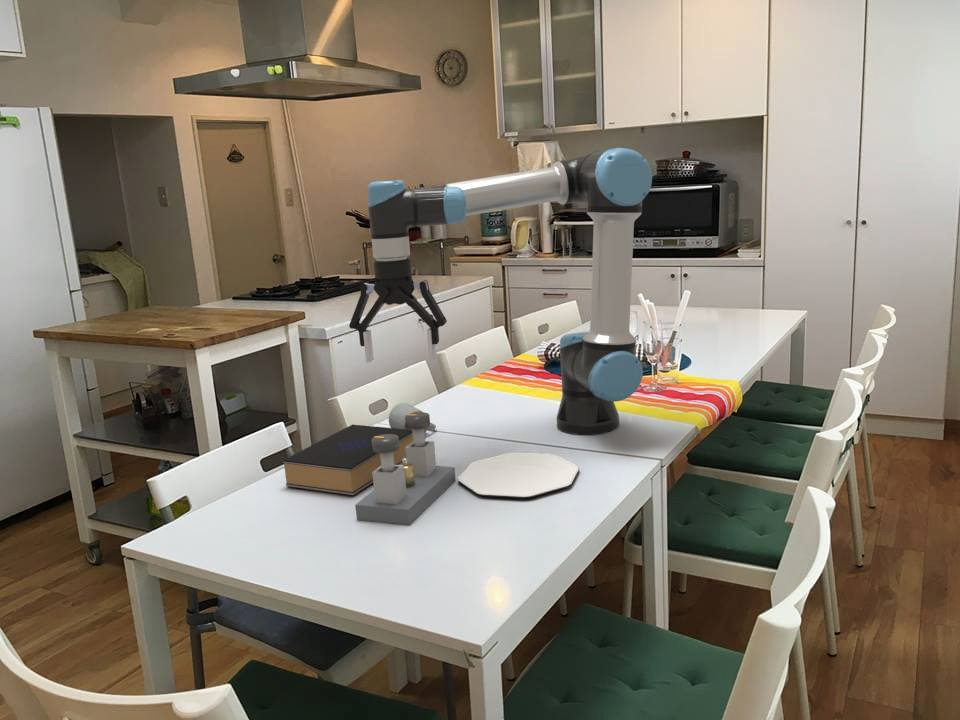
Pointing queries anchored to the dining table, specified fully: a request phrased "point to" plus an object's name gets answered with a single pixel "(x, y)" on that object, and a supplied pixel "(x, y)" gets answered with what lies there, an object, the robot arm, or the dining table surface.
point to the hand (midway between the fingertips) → (401, 360)
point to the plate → (518, 475)
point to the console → (401, 502)
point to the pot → (408, 473)
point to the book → (342, 460)
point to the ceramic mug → (399, 415)
